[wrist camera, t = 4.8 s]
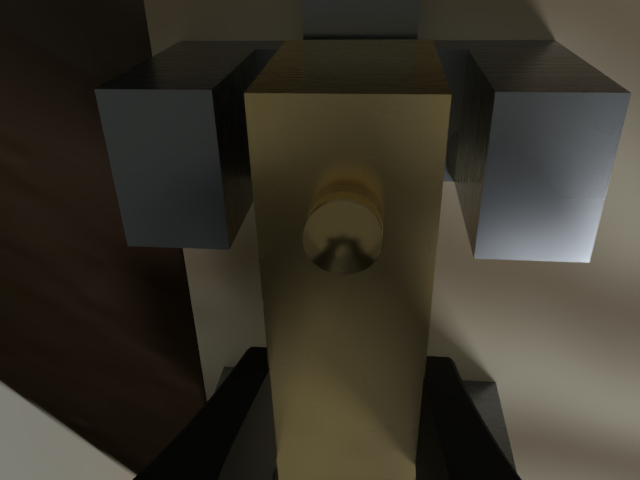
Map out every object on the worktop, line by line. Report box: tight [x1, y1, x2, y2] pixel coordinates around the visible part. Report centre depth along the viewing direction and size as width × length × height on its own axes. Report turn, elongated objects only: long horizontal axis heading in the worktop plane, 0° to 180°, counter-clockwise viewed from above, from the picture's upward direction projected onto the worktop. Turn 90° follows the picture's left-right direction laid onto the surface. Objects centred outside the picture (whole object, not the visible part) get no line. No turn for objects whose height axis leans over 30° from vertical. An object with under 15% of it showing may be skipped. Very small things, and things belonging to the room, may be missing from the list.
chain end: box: [94, 0, 631, 263], centre depth 11 cm, size 4×8×4 cm, turn 91°
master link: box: [244, 39, 452, 480], centre depth 13 cm, size 13×3×5 cm, turn 1°
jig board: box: [144, 0, 640, 480], centre depth 16 cm, size 16×17×1 cm
